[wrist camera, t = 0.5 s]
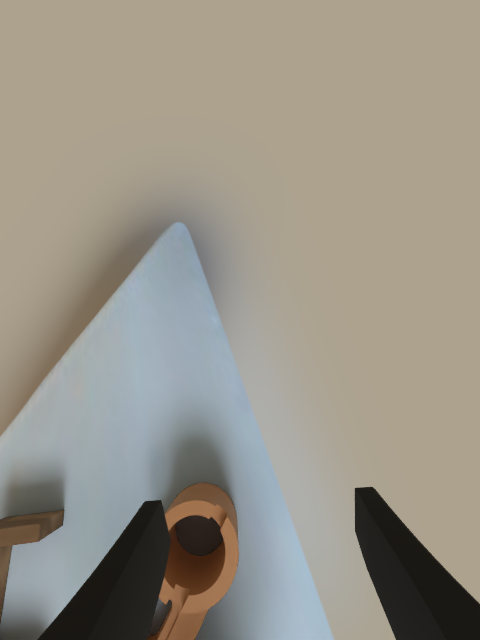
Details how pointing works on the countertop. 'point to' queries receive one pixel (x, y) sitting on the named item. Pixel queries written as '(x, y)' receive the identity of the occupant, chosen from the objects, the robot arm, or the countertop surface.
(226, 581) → the bracket
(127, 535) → the robot arm
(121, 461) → the countertop surface
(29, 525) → the jig
